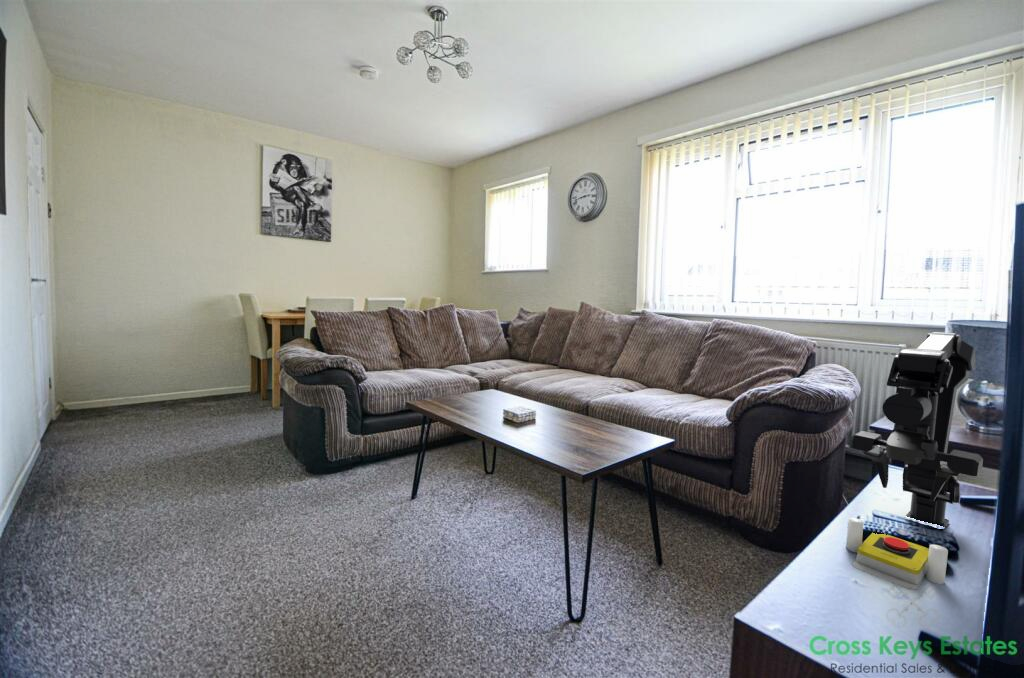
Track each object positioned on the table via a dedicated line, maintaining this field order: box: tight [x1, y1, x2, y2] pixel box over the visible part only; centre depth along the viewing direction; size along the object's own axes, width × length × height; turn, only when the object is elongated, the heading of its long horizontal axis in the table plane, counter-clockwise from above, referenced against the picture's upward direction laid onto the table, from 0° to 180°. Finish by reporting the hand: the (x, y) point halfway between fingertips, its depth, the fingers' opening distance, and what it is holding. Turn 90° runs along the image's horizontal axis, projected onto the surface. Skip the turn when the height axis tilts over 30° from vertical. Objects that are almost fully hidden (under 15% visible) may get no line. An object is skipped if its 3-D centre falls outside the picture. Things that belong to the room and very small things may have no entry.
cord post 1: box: [845, 517, 865, 553], centre depth 91 cm, size 2×2×6 cm
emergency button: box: [851, 532, 929, 591], centre depth 86 cm, size 9×4×15 cm
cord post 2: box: [925, 544, 949, 585], centre depth 81 cm, size 2×2×6 cm
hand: (908, 493), depth 89 cm, fingers open, 7 cm apart
